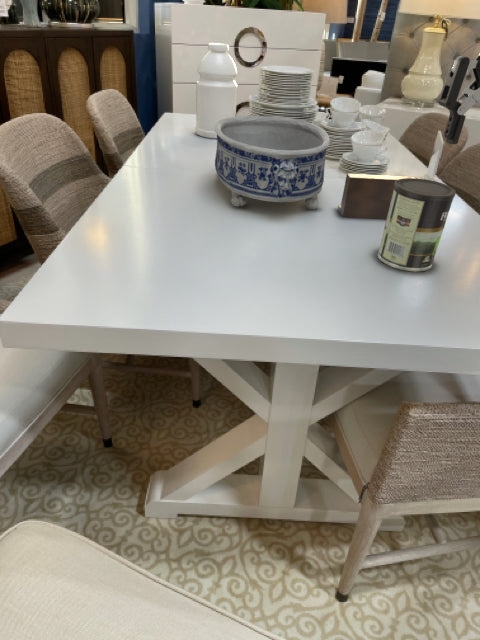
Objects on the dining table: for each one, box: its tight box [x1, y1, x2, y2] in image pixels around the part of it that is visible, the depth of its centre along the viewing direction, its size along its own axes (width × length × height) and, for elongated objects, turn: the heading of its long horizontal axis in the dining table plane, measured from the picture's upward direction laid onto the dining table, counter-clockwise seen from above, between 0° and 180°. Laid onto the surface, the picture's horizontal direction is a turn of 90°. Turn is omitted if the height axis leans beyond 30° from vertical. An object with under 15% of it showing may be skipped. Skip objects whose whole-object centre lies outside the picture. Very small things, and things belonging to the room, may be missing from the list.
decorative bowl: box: [214, 115, 331, 210], centre depth 115 cm, size 42×27×15 cm, turn 8°
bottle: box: [195, 42, 239, 140], centre depth 160 cm, size 14×14×28 cm
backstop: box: [337, 173, 418, 220], centre depth 107 cm, size 16×5×9 cm, turn 93°
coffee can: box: [377, 177, 457, 272], centre depth 86 cm, size 10×10×14 cm
